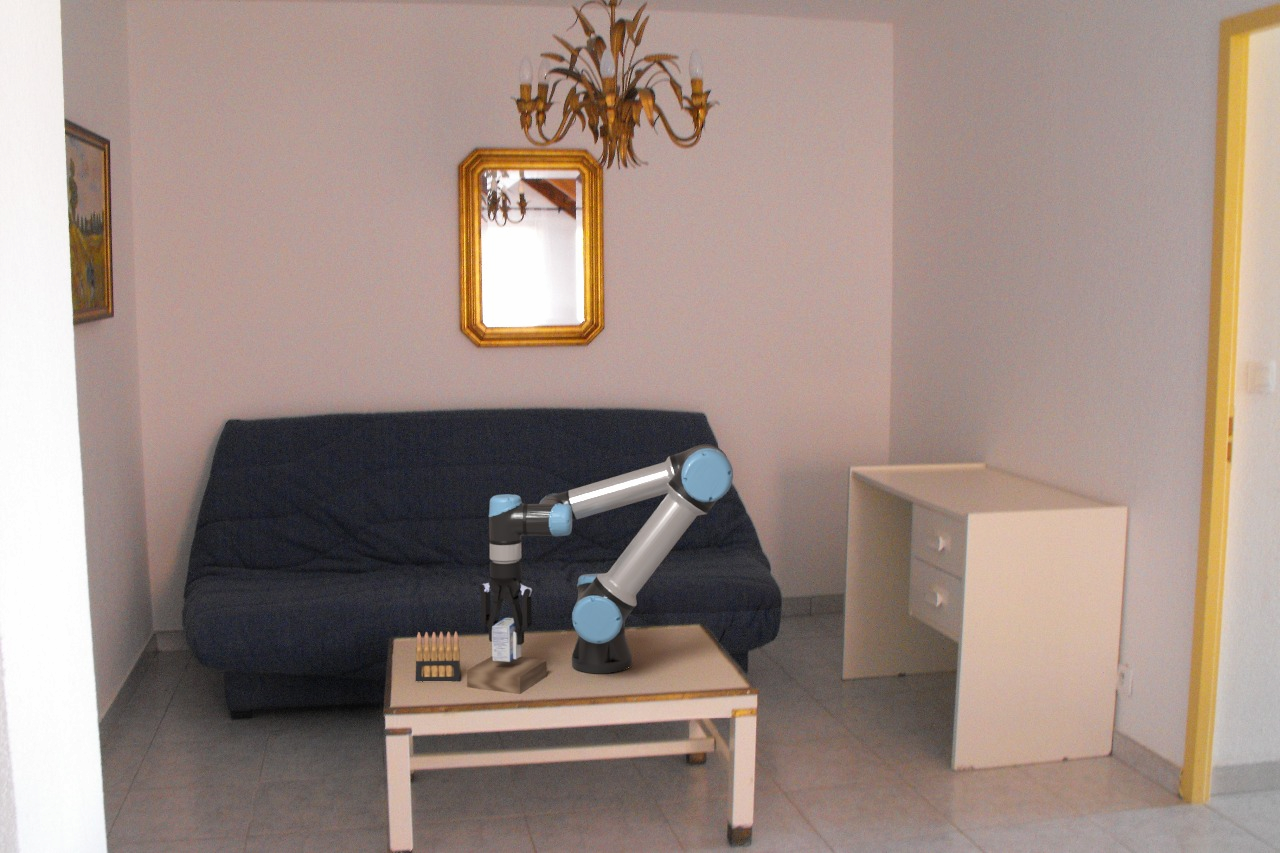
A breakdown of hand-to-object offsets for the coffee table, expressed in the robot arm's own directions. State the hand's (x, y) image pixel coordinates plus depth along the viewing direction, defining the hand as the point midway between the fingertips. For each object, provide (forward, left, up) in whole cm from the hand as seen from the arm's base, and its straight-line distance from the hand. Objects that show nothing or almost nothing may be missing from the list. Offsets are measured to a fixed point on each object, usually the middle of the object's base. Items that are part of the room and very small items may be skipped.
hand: (506, 656), depth 268 cm
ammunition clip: (+16, +5, -6) cm, 18 cm away
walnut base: (0, 0, -6) cm, 6 cm away
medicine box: (0, 0, -1) cm, 1 cm away
